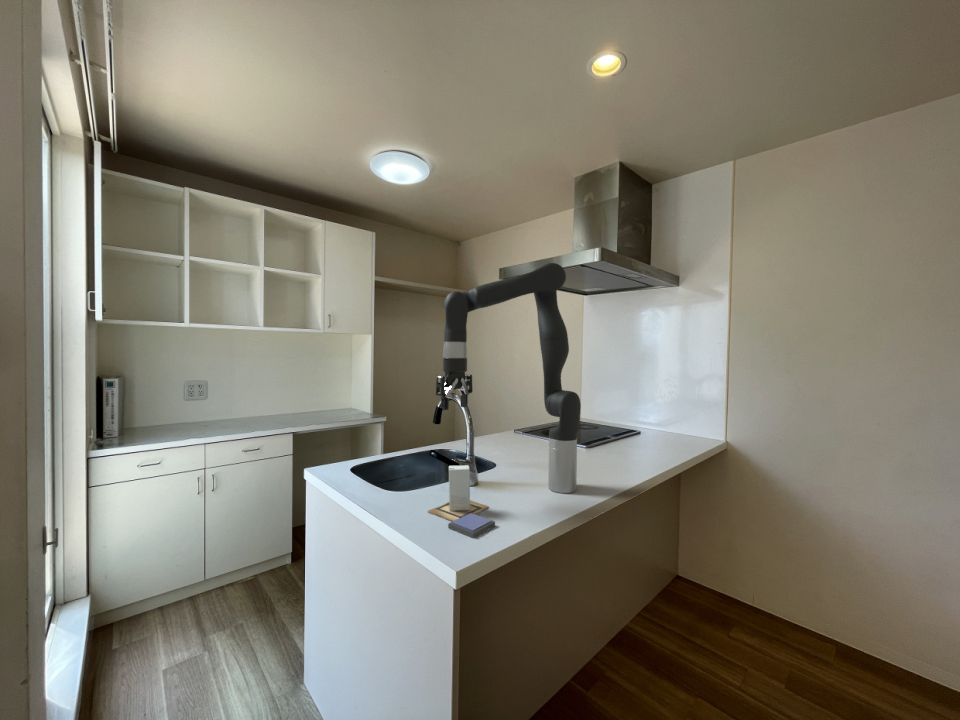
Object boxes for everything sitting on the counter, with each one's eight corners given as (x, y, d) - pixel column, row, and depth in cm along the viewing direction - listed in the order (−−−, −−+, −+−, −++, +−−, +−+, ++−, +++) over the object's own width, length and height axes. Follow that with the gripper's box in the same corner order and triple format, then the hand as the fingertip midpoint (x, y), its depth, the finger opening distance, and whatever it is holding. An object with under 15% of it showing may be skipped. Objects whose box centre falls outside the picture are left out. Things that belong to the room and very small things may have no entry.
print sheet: (460, 498, 122) (460, 496, 122) (488, 507, 115) (488, 505, 115) (427, 512, 111) (427, 510, 111) (456, 523, 104) (456, 521, 104)
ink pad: (470, 517, 108) (470, 511, 108) (495, 525, 103) (495, 520, 103) (448, 528, 101) (448, 522, 101) (472, 538, 96) (473, 532, 96)
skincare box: (469, 505, 116) (469, 464, 115) (470, 511, 111) (470, 468, 111) (448, 505, 115) (448, 464, 115) (448, 511, 111) (449, 469, 110)
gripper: (461, 356, 130) (461, 405, 130) (430, 356, 119) (429, 409, 119) (478, 356, 125) (478, 407, 125) (448, 356, 114) (447, 412, 114)
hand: (454, 408), depth 122 cm, fingers open, 8 cm apart
